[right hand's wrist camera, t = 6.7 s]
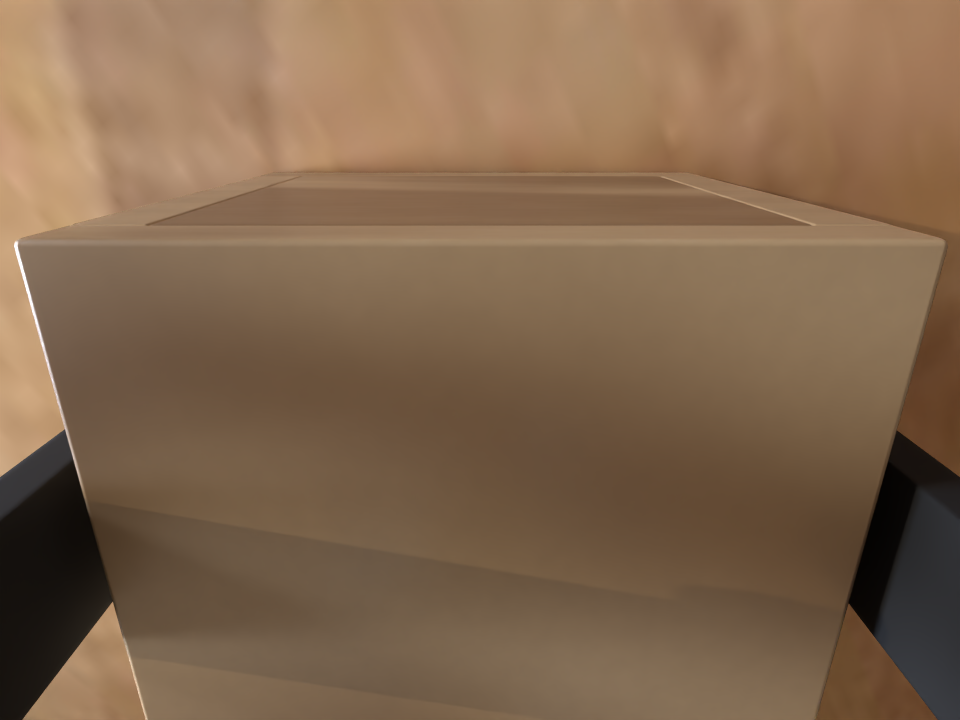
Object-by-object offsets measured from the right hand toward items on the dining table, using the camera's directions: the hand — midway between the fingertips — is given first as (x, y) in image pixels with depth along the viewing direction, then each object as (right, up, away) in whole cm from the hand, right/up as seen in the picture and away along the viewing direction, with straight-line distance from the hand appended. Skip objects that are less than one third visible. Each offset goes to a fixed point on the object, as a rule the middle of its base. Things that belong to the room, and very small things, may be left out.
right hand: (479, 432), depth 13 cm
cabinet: (0, -3, +7) cm, 8 cm away
